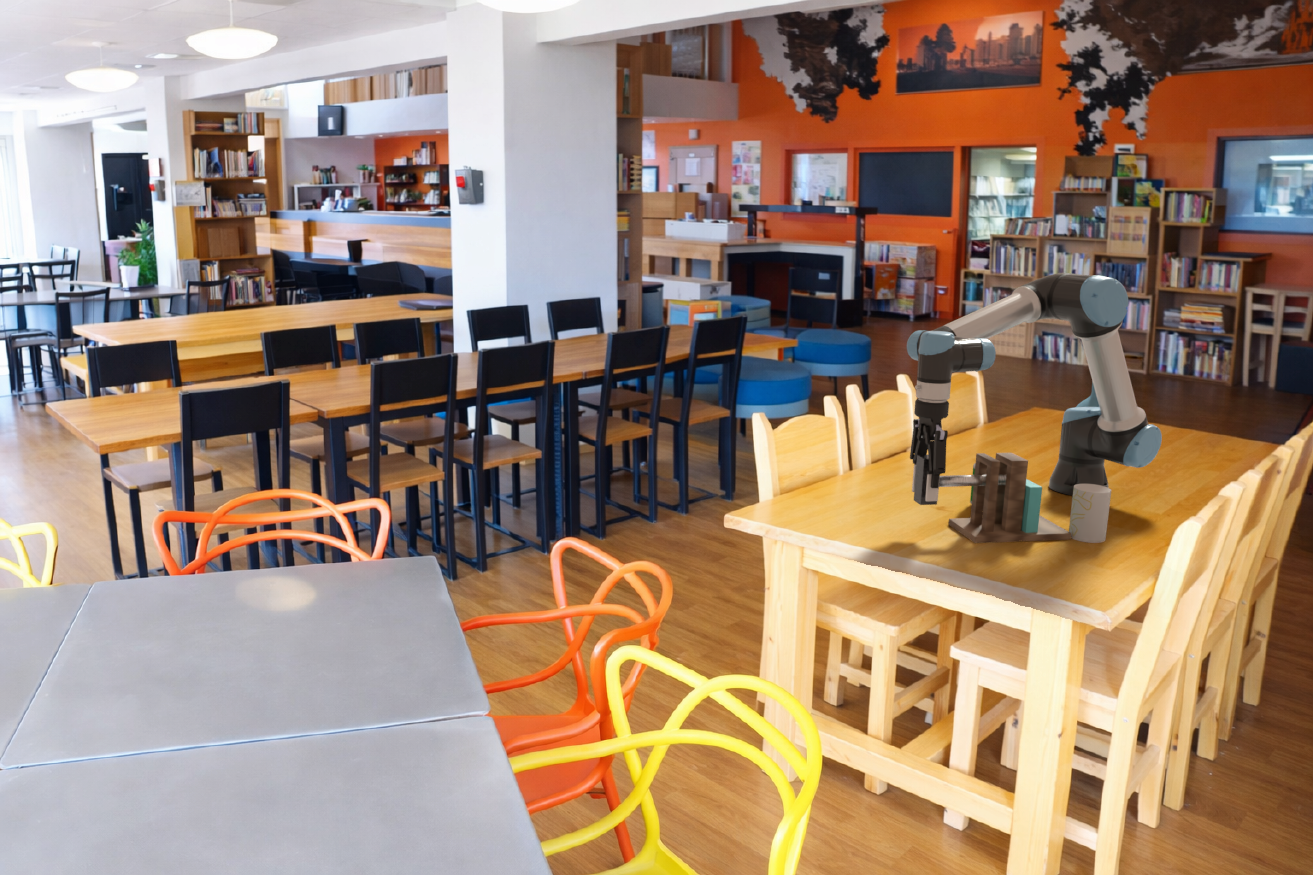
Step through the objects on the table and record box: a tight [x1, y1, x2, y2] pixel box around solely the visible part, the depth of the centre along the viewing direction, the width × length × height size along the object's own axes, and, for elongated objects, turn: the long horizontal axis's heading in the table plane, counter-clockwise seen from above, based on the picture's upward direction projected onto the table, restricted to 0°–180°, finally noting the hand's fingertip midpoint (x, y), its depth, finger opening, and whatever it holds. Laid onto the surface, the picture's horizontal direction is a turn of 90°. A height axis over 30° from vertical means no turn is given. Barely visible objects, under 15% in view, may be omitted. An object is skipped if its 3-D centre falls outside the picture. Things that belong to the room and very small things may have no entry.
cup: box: [1068, 484, 1112, 544], centre depth 245 cm, size 8×8×12 cm
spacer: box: [1021, 478, 1043, 533], centre depth 248 cm, size 3×11×11 cm, turn 9°
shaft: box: [913, 454, 1006, 506], centre depth 244 cm, size 23×4×11 cm, turn 100°
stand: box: [948, 452, 1072, 544], centre depth 247 cm, size 24×14×18 cm, turn 100°
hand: (924, 495), depth 243 cm, fingers open, 7 cm apart
